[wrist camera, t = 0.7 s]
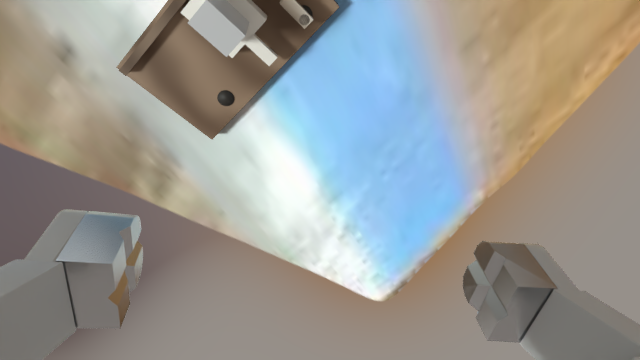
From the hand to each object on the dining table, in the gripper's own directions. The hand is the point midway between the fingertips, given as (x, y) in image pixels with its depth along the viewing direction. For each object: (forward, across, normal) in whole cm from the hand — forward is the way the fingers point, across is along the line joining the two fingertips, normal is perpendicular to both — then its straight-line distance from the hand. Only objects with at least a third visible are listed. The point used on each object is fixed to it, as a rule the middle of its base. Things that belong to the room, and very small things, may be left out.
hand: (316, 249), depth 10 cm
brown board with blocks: (+38, +6, +4) cm, 38 cm away
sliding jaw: (+36, +4, +3) cm, 36 cm away
